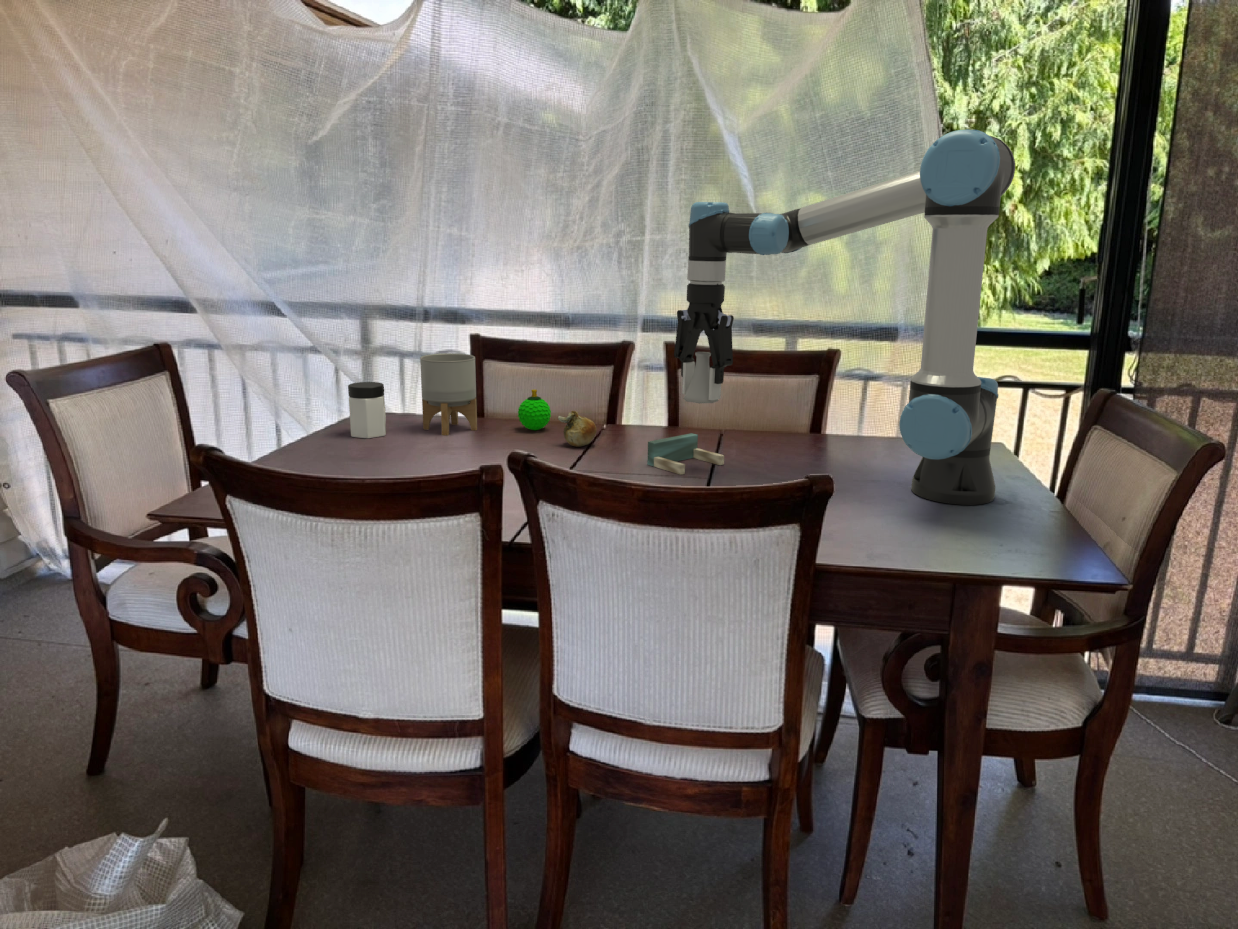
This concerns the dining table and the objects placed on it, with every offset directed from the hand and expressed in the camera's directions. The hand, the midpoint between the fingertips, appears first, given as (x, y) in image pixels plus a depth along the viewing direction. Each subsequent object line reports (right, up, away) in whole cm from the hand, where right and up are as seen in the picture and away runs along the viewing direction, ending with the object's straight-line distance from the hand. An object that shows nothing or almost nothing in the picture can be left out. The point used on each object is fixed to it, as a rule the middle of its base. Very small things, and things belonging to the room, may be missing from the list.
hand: (701, 396), depth 184 cm
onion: (-26, -10, +21) cm, 35 cm away
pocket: (-3, -14, +6) cm, 16 cm away
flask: (0, -1, 0) cm, 1 cm away
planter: (-58, -6, +35) cm, 68 cm away
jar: (-76, -7, +29) cm, 82 cm away
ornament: (-38, -6, +36) cm, 52 cm away
